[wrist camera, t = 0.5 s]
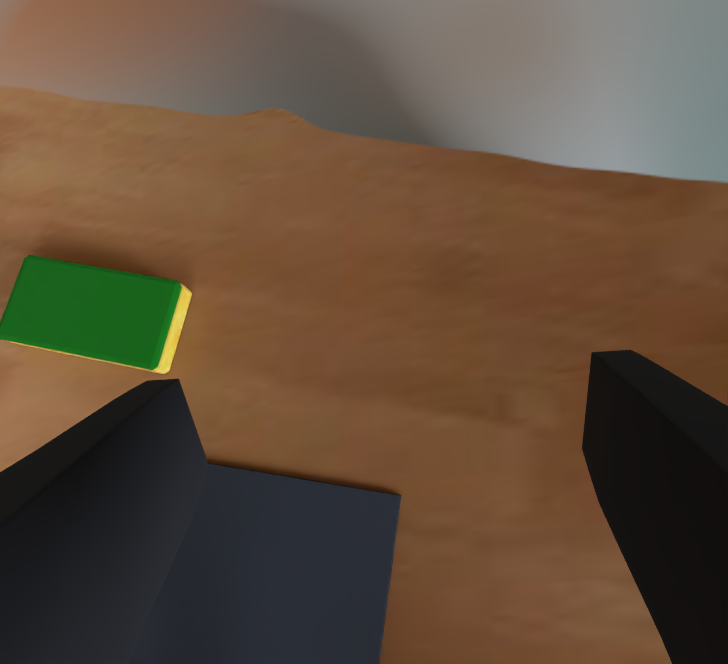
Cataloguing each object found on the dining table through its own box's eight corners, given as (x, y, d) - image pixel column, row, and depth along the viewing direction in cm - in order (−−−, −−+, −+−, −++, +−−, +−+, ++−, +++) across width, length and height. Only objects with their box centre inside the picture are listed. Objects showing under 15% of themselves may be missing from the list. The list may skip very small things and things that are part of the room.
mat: (371, 718, 34) (371, 721, 33) (92, 653, 36) (88, 655, 36) (401, 495, 37) (400, 495, 36) (141, 451, 40) (138, 451, 39)
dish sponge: (45, 264, 44) (24, 253, 42) (194, 291, 42) (180, 280, 40) (16, 344, 43) (-7, 337, 41) (168, 375, 41) (153, 370, 38)
